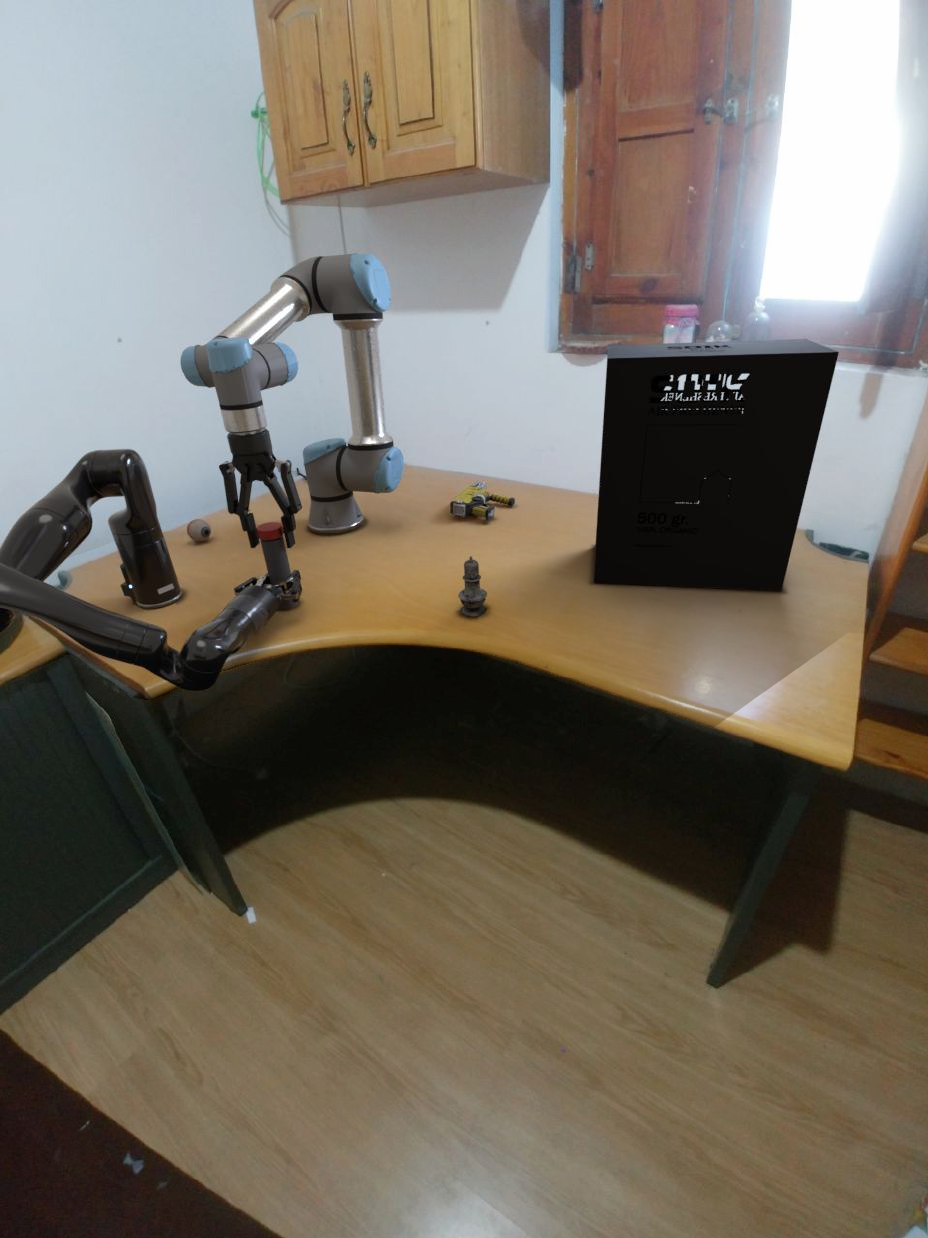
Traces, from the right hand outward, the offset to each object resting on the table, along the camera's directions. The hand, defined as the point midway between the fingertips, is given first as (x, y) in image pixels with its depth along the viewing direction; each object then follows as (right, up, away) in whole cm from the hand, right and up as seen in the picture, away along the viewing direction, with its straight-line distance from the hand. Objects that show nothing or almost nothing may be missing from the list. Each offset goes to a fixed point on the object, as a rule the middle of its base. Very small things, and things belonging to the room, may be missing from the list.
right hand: (273, 545), depth 123 cm
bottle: (+1, -12, +7) cm, 14 cm away
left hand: (+1, -5, +6) cm, 8 cm away
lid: (0, +3, -2) cm, 4 cm away
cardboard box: (+87, -3, +13) cm, 88 cm away
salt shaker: (+41, -13, 0) cm, 43 cm away
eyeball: (-32, +6, +42) cm, 53 cm away
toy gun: (+46, +17, +53) cm, 72 cm away
